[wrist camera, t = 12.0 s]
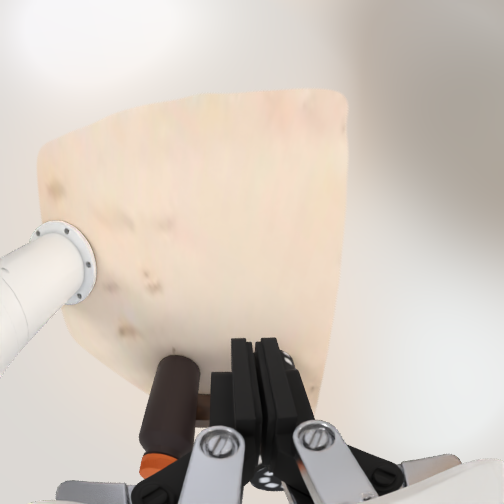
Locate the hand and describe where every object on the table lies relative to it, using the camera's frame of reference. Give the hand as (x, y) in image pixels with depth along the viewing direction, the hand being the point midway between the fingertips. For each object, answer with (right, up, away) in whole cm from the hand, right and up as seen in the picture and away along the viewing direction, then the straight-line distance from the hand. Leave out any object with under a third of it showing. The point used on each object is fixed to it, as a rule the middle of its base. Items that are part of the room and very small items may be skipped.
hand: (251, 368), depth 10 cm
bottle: (-11, -14, +31) cm, 36 cm away
